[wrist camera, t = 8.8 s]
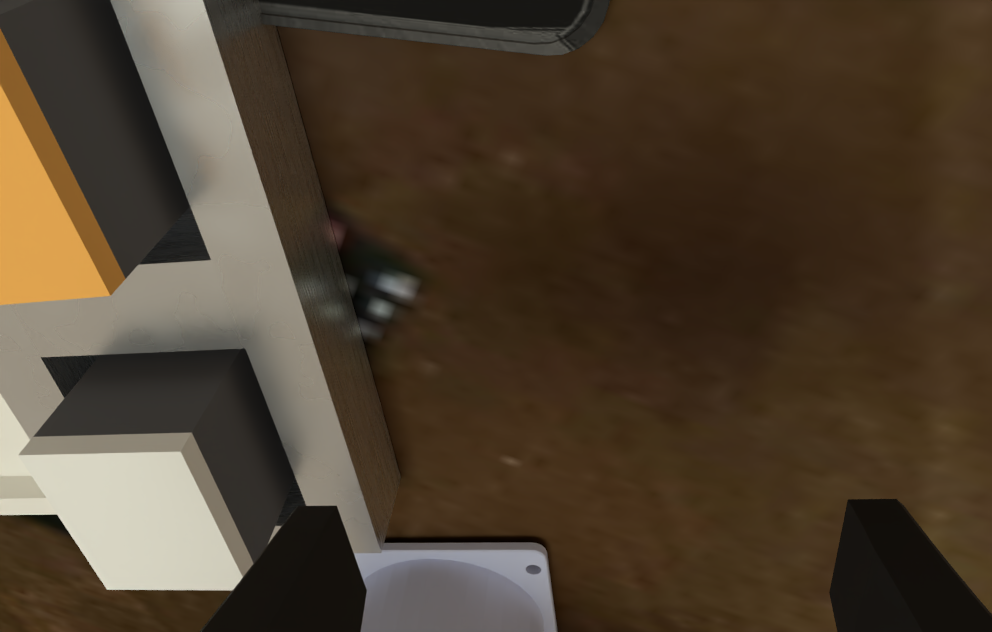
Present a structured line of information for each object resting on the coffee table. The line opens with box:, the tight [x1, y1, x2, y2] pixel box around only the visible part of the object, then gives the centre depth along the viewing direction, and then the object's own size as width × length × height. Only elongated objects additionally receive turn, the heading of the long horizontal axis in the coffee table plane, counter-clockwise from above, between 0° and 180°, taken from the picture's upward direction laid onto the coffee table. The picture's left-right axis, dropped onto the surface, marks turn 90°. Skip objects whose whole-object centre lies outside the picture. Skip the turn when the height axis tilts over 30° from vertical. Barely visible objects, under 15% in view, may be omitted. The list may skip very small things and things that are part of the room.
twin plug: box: [18, 349, 295, 590], centre depth 21 cm, size 5×4×5 cm
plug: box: [0, 0, 190, 305], centre depth 16 cm, size 5×4×5 cm
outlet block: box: [0, 0, 401, 553], centre depth 20 cm, size 18×9×3 cm, turn 7°
